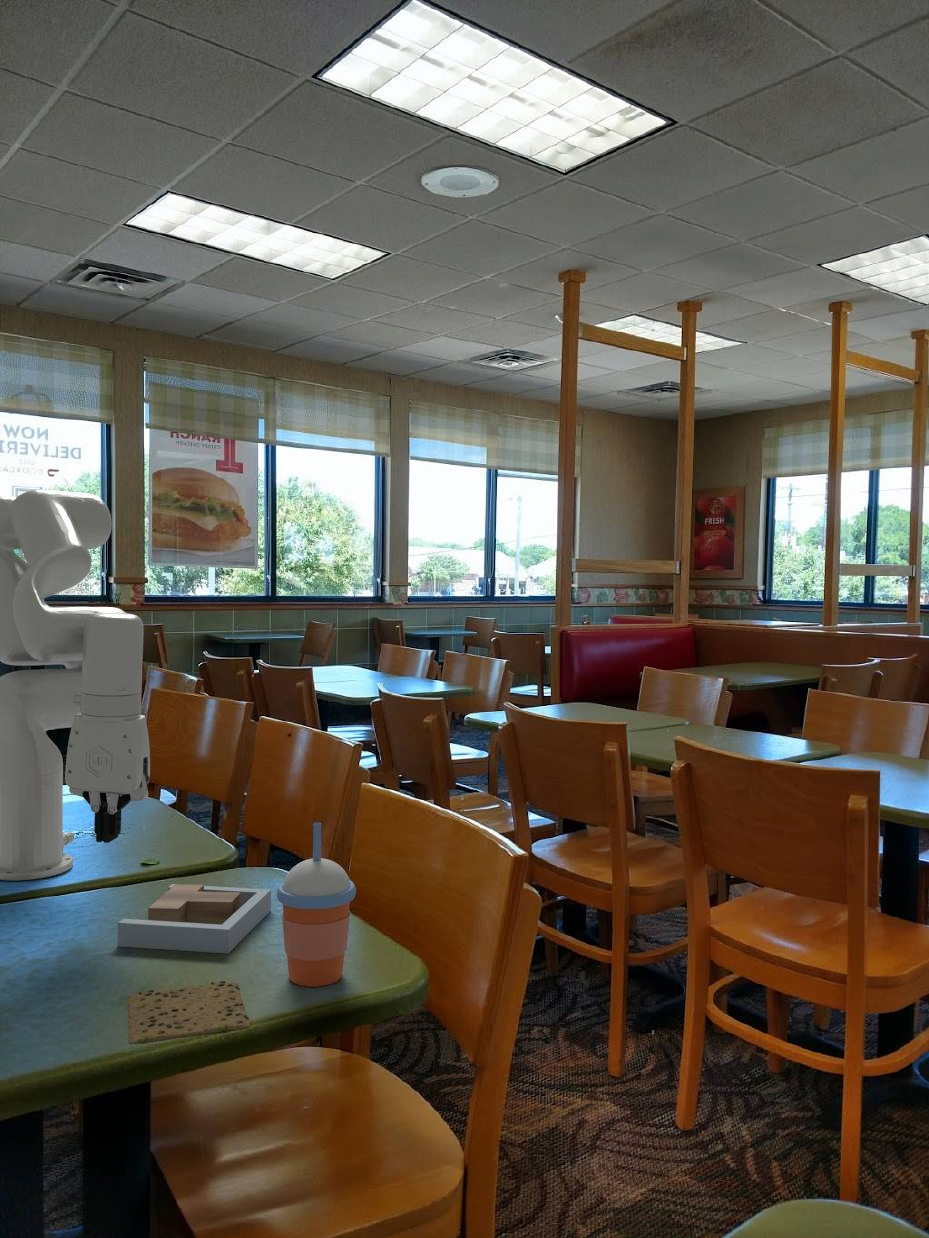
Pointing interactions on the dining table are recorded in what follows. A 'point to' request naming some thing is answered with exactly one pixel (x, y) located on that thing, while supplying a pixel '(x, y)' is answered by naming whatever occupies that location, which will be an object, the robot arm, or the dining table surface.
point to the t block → (194, 905)
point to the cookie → (185, 1012)
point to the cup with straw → (316, 918)
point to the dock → (199, 927)
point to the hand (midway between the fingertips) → (107, 839)
